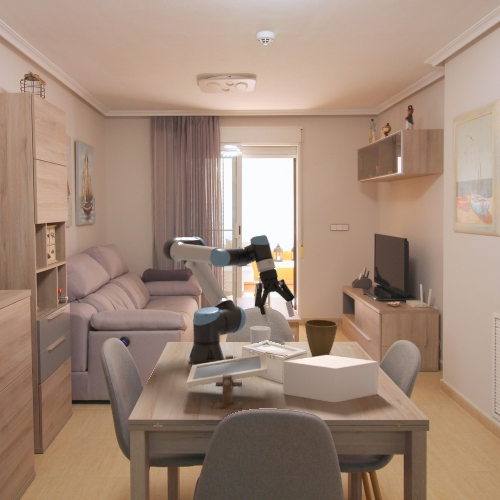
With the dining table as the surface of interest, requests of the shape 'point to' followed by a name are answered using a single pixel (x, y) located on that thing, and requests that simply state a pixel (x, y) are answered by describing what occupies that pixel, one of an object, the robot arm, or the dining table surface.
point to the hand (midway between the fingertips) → (279, 319)
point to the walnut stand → (227, 392)
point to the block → (330, 378)
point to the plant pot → (320, 336)
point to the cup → (277, 341)
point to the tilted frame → (227, 370)
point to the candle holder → (259, 333)
